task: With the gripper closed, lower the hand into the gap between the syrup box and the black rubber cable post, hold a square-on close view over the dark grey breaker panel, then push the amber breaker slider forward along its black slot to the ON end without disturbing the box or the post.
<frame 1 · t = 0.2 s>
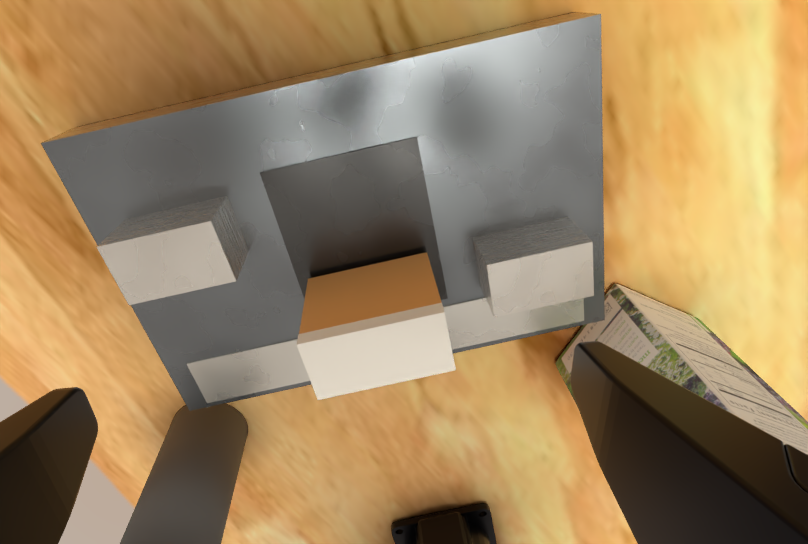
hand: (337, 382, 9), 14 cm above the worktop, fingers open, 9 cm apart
breaker panel: (361, 220, 23), on the worktop
syrup box: (619, 336, 28), on the worktop
breaker slider: (376, 320, 19), point 5 cm above the worktop, slide at 0.0 cm
cable post: (210, 428, 28), on the worktop
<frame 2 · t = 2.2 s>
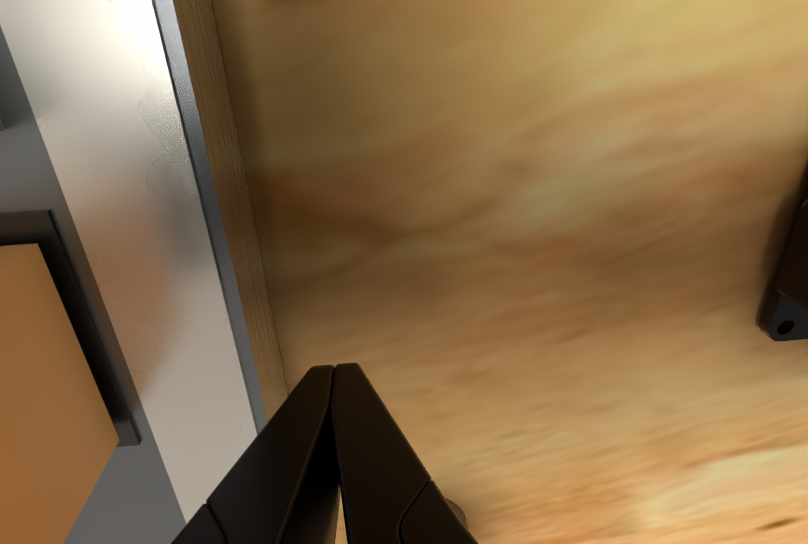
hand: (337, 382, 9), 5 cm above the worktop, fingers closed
breaker panel: (7, 295, 13), on the worktop
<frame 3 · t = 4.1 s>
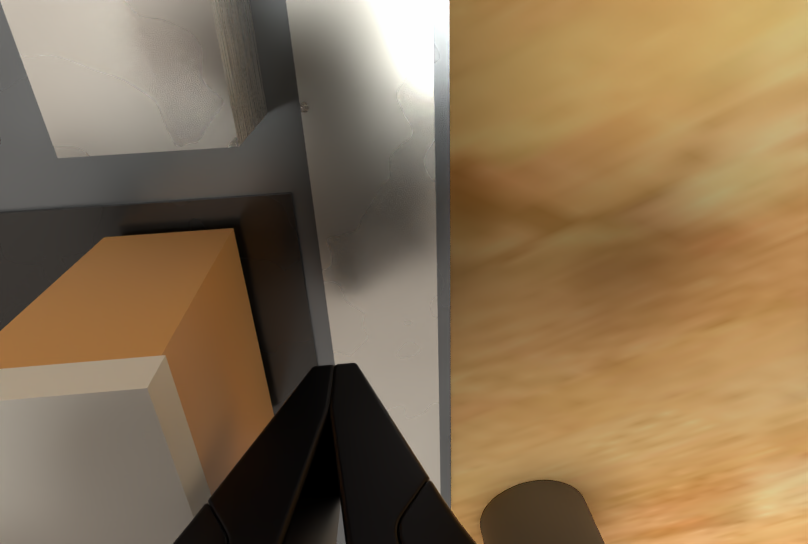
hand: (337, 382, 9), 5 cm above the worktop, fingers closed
breaker panel: (188, 280, 13), on the worktop
breaker slider: (162, 418, 9), point 5 cm above the worktop, slide at 0.9 cm, touching gripper
cable post: (533, 518, 19), on the worktop
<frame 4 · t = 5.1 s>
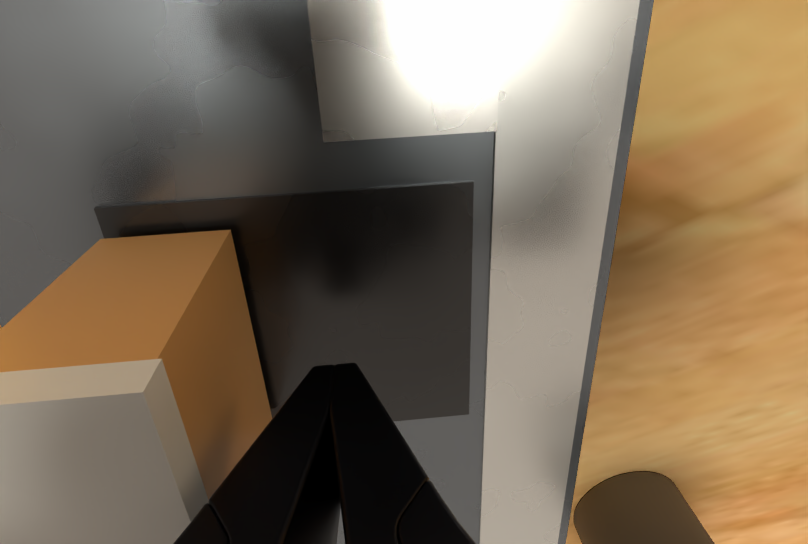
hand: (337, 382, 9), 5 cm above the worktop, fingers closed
breaker panel: (324, 270, 13), on the worktop
breaker slider: (159, 421, 9), point 5 cm above the worktop, slide at 4.5 cm, touching gripper
cable post: (626, 509, 19), on the worktop
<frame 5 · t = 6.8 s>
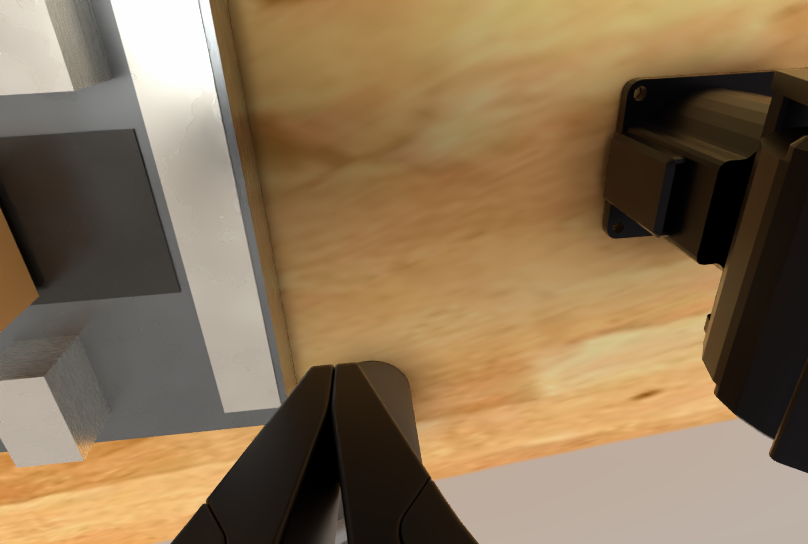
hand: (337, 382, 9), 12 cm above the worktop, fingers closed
breaker panel: (90, 199, 20), on the worktop
cable post: (370, 393, 25), on the worktop
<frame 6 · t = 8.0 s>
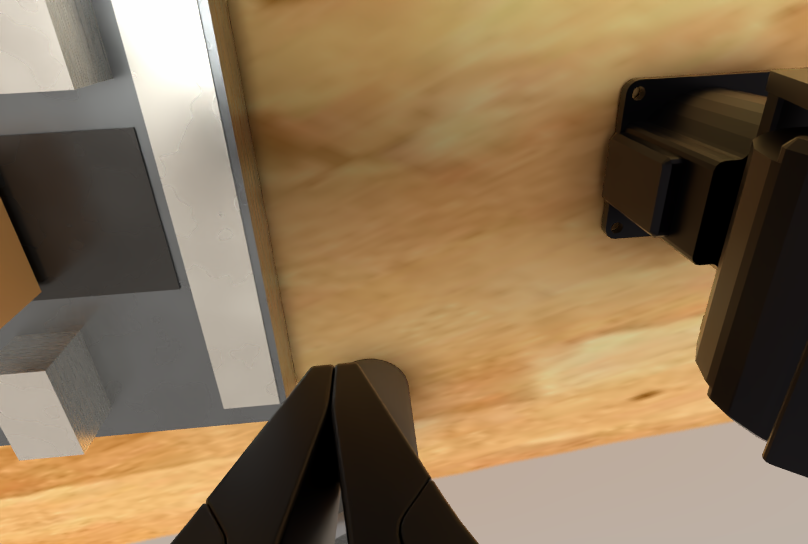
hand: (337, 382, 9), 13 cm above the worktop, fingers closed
breaker panel: (92, 197, 20), on the worktop
cable post: (369, 391, 26), on the worktop
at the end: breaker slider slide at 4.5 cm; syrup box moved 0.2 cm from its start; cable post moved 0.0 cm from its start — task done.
